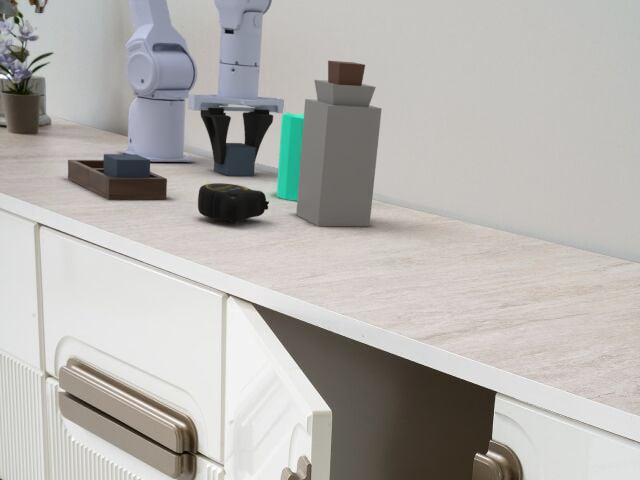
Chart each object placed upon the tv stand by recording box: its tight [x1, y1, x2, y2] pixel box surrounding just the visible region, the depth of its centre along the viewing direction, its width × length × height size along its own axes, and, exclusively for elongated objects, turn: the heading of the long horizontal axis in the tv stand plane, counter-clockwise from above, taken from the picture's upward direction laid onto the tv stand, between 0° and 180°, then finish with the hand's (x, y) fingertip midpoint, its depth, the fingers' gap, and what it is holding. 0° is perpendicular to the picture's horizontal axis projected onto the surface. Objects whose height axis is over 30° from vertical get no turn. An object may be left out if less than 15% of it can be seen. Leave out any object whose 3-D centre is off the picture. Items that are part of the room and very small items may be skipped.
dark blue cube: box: [103, 153, 151, 178], centre depth 140 cm, size 4×4×4 cm
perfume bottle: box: [295, 60, 382, 227], centre depth 133 cm, size 7×7×18 cm
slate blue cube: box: [213, 142, 256, 177], centre depth 163 cm, size 4×4×4 cm
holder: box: [67, 159, 168, 201], centre depth 143 cm, size 14×8×2 cm, turn 31°
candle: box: [276, 112, 304, 202], centre depth 147 cm, size 6×6×12 cm
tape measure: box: [197, 182, 270, 224], centre depth 130 cm, size 7×7×4 cm
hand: (234, 163), depth 164 cm, fingers closed on slate blue cube, 4 cm apart
